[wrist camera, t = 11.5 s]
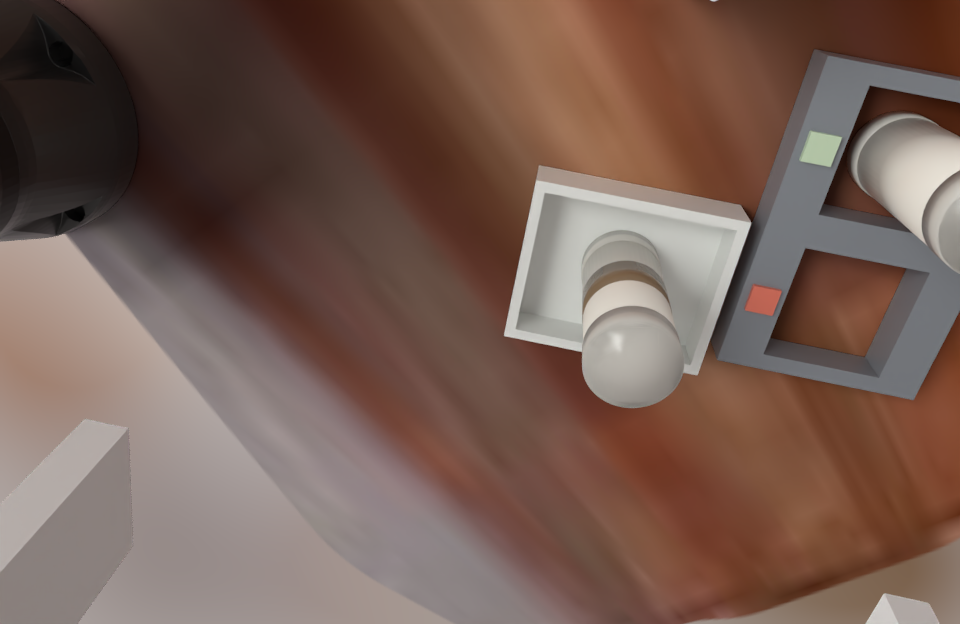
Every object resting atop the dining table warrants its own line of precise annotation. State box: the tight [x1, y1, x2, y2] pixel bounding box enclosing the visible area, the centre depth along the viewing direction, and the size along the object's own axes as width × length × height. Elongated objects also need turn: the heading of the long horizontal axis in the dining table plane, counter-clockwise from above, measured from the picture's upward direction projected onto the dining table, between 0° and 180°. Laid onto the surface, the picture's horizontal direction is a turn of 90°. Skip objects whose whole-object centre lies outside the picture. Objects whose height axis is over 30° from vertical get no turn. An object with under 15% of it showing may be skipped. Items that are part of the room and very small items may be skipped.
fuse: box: [847, 111, 960, 274], centre depth 37 cm, size 5×5×12 cm
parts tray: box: [504, 165, 751, 375], centre depth 45 cm, size 12×10×3 cm
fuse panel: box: [711, 49, 960, 400], centre depth 43 cm, size 12×18×3 cm, turn 170°
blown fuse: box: [581, 230, 684, 408], centre depth 41 cm, size 5×5×12 cm
